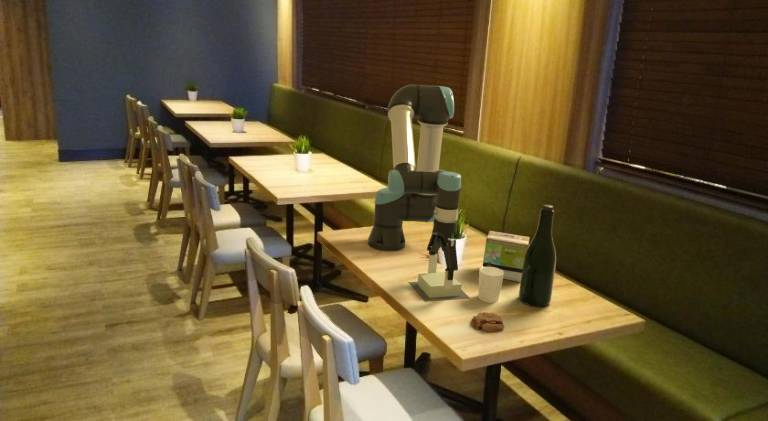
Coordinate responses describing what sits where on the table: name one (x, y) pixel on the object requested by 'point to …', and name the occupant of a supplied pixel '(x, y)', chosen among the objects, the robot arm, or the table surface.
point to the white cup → (490, 284)
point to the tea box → (506, 253)
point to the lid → (437, 285)
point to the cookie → (488, 322)
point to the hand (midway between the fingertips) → (439, 280)
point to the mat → (427, 299)
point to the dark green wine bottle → (539, 263)
